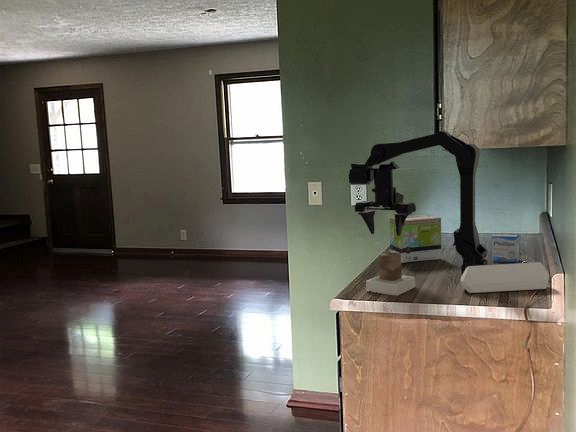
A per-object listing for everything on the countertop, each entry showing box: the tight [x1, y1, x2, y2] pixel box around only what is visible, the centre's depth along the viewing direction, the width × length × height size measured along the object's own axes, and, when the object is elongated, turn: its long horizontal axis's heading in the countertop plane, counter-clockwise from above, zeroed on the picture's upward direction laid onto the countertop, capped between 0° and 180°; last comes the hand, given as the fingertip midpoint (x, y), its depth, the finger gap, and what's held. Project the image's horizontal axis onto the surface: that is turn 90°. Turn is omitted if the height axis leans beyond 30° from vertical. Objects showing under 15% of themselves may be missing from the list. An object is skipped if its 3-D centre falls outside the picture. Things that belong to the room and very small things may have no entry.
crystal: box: [460, 261, 550, 294], centre depth 163 cm, size 7×7×24 cm
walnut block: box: [378, 251, 403, 281], centre depth 170 cm, size 4×4×7 cm
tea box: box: [389, 214, 442, 264], centre depth 207 cm, size 15×10×15 cm
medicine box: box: [491, 233, 520, 264], centre depth 196 cm, size 8×4×9 cm, turn 62°
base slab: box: [365, 274, 416, 297], centre depth 170 cm, size 10×10×3 cm
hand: (385, 234), depth 184 cm, fingers open, 9 cm apart
